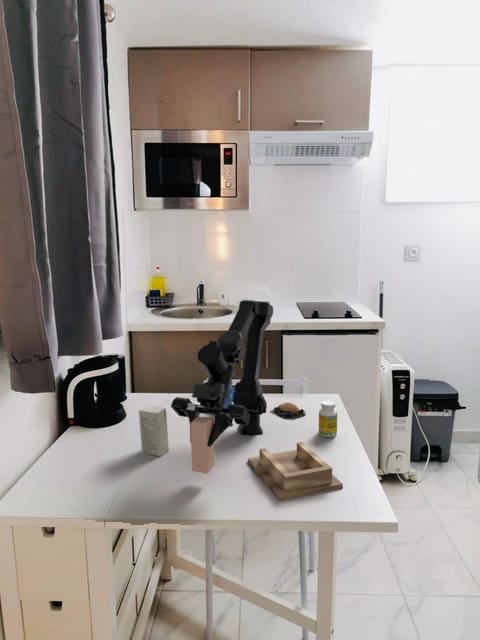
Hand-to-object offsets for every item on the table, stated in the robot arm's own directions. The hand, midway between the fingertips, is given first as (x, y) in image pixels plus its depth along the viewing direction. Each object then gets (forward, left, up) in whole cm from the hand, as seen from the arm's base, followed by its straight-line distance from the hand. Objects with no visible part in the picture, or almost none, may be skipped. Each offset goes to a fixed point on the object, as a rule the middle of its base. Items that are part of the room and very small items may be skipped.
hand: (200, 444), depth 115 cm
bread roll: (-42, +31, -11) cm, 54 cm away
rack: (-2, +23, -10) cm, 25 cm away
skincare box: (-20, -11, -11) cm, 26 cm away
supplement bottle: (-24, +39, -11) cm, 47 cm away
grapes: (-46, +13, -11) cm, 49 cm away
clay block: (-1, +1, -7) cm, 7 cm away
